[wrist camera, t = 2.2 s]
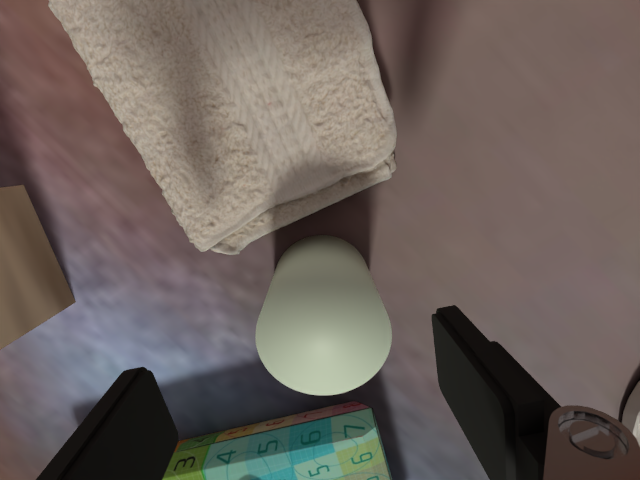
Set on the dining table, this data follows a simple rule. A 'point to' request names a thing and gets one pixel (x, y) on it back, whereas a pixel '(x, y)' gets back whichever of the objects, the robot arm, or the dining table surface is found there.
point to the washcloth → (241, 105)
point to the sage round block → (323, 319)
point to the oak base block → (26, 269)
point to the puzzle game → (288, 449)
